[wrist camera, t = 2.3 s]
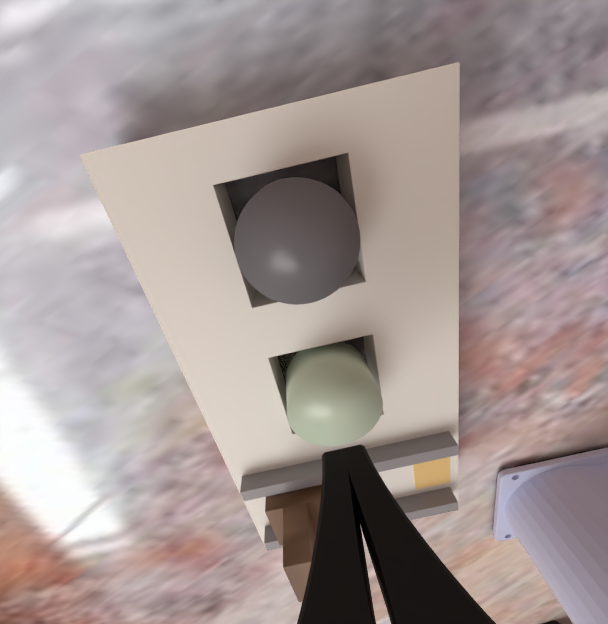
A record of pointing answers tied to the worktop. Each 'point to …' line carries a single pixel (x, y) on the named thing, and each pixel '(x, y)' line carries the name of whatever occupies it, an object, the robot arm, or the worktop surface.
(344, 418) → the sage button
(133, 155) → the control panel
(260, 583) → the worktop surface
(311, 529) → the walnut slider
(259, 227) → the charcoal button
